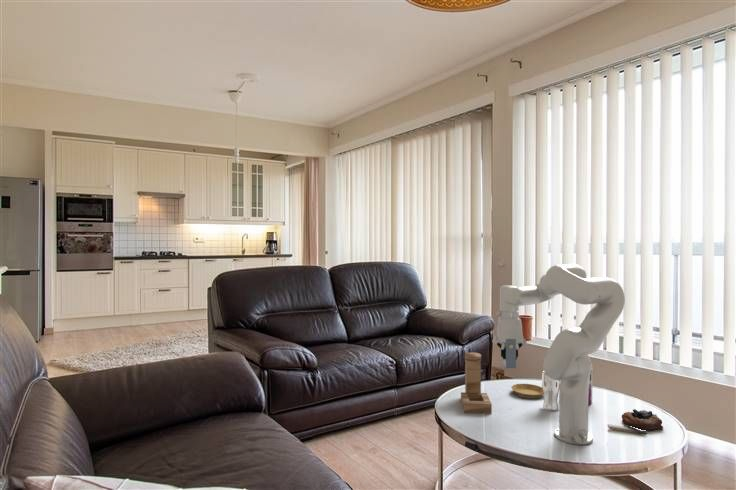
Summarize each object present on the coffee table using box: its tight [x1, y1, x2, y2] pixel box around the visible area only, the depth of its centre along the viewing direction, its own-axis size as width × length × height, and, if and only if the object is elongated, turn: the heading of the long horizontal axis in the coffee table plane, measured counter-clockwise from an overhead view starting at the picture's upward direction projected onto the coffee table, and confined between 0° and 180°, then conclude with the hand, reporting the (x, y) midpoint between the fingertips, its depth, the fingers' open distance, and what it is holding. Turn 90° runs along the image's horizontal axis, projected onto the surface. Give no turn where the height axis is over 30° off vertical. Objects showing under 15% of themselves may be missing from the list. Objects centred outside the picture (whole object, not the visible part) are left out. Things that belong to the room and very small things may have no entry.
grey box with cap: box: [502, 339, 517, 369], centre depth 194 cm, size 7×4×12 cm, turn 174°
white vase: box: [541, 370, 561, 412], centre depth 194 cm, size 7×7×15 cm
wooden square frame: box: [460, 351, 493, 415], centre depth 199 cm, size 20×11×20 cm, turn 174°
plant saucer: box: [511, 383, 544, 399], centre depth 211 cm, size 15×15×3 cm
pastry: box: [621, 408, 664, 432], centre depth 176 cm, size 11×12×6 cm
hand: (509, 358), depth 194 cm, fingers closed on grey box with cap, 4 cm apart
